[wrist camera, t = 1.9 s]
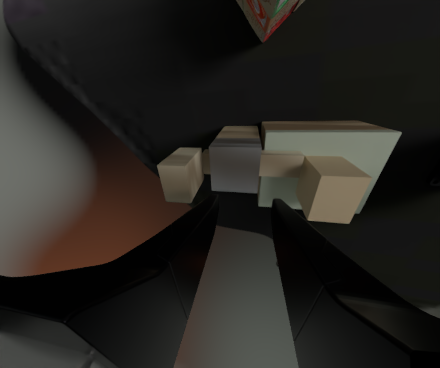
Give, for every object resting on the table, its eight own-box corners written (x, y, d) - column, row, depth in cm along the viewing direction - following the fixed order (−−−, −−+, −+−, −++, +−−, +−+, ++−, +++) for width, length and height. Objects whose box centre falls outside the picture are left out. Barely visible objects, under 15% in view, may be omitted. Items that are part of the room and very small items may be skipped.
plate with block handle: (353, 207, 17) (388, 246, 13) (258, 200, 18) (260, 233, 14) (391, 129, 13) (462, 148, 9) (265, 130, 14) (271, 145, 10)
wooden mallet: (294, 176, 15) (313, 212, 10) (188, 172, 17) (165, 201, 12) (301, 145, 13) (327, 171, 9) (184, 143, 15) (156, 165, 11)
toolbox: (332, 184, 21) (378, 234, 14) (225, 179, 23) (213, 219, 16) (356, 120, 17) (439, 142, 10) (224, 122, 19) (208, 140, 12)
